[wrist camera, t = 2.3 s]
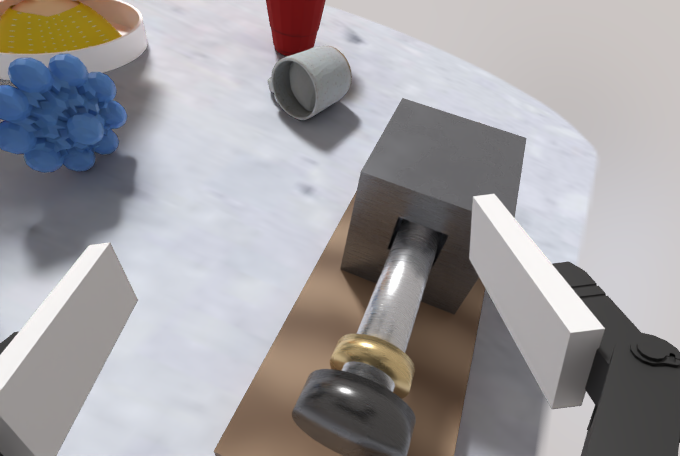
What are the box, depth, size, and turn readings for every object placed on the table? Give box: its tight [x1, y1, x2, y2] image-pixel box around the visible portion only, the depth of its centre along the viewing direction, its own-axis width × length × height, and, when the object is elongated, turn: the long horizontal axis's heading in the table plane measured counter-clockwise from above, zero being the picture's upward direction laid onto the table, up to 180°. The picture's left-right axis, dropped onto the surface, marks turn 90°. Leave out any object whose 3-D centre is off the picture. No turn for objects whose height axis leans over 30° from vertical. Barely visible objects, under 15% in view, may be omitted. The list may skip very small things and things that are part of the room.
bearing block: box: [340, 98, 526, 315], centre depth 34 cm, size 10×10×11 cm
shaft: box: [292, 219, 442, 456], centre depth 27 cm, size 18×6×6 cm, turn 158°
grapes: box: [0, 54, 127, 173], centre depth 37 cm, size 12×7×12 cm, turn 149°
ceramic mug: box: [268, 46, 352, 120], centre depth 52 cm, size 10×8×7 cm
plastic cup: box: [266, 0, 325, 56], centre depth 59 cm, size 11×11×12 cm
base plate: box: [214, 191, 485, 456], centre depth 35 cm, size 32×14×2 cm, turn 158°
